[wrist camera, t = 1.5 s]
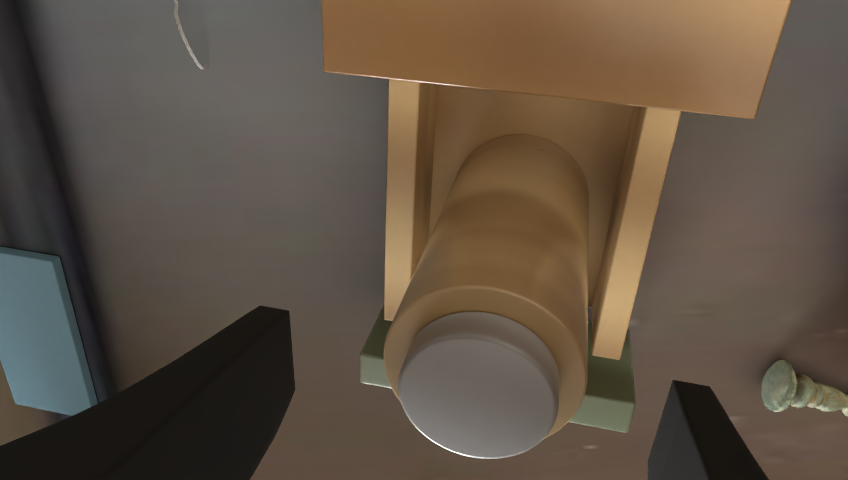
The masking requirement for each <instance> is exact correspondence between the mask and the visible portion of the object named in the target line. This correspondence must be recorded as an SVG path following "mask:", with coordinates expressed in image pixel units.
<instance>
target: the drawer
mask: <svg viewBox="0 0 848 480" xmlns="http://www.w3.org/2000/svg"><path fill="white" fill-rule="evenodd" d="M680 115H681V111H676V110H667V109H658V108H649V107H640V106H631V105H621V104H612V103H603V102H594V101H585V100H576V99H567V98H558V97H549V96H540V95H530V94H521V93H512V92H503V91H494V90H485V89H476V88H467V87H458V86H448V85H439V84H430V83H421V82H412V81H403V80H394V79H389V104H388V151H387V198H386V244H385V291H384V305H383V308H382V310H381V312H380V314H379V316H378V318H377V320H376V322H375V324H374V326H373V328H372V331H371V333H370V335H369V337H368V339H367V341H366V343H365V345H364V347H363V349H362V351H361V353H360V382H362V383H366V384H371V385H377V386H382V387H387V388H391V386H390V384H389V381H388V378H387V375H386V371H385V366H384V355H383V353H384V343H385V340H386V336H387V333H388V331H389V328H390V326H391V324H392V321H393V319H394V317H395V315H396V312H397V310H398V308H399V306H400V303H401V301H402V299H403V297H404V294H405V292H406V290H407V288H408V285H409V283H410V281H411V278H412V276H413V274H414V272H415V269H416V267H417V265H418V263H419V260H420V258H421V256H422V254H423V251H424V249H425V247H426V245H427V242H428V240H429V238H430V235H431V233H432V231H433V229H434V226H435V224H436V222H437V220H438V217H439V215H440V213H441V211H442V208H443V206H444V204H445V202H446V199H447V197H448V195H449V192H450V190H451V188H452V186H453V183H454V181H455V179H456V177H457V174H458V172H459V170H460V168H461V166H462V165H463V163H464V161H465V160H466V159H467V158H468V156H469V155H470V154H471V153H472V152H473V151H475V150H476V149H477V148H478V147H480V146H481V145H483V144H484V143H486V142H489V141H491V140H493V139H496V138H499V137H503V136H508V135H531V136H536V137H540V138H543V139H546V140H548V141H551V142H553V143H555V144H556V145H558V146H560V147H561V148H563V149H564V150H565V151H566V152H568V153H569V154H570V155H571V156H572V157H573V159H574V160H575V161H576V162H577V164H578V165H579V166H580V168H581V170H582V172H583V174H584V176H585V179H586V182H587V187H588V196H589V221H588V306H592V323H591V322H588V380H587V388H586V392H585V395H584V399H583V401H582V403H581V405H580V407H579V409H578V411H577V412H576V413H575V415H574V416H573V417H572V419H571V420H570V421H569V422H572V423H578V424H583V425H588V426H593V427H599V428H604V429H609V430H615V431H620V432H625V433H626V432H628V430H629V427H630V423H631V420H632V416H633V412H634V409H635V405H636V403H635V391H634V380H633V368H632V356H631V344H630V333H629V329H628V325H629V321H630V317H631V313H632V309H633V305H634V301H635V297H636V293H637V289H638V285H639V281H640V277H641V273H642V269H643V265H644V261H645V257H646V253H647V249H648V245H649V241H650V237H651V233H652V228H653V224H654V220H655V216H656V212H657V208H658V204H659V200H660V196H661V192H662V188H663V184H664V180H665V176H666V172H667V168H668V164H669V160H670V156H671V152H672V148H673V144H674V140H675V136H676V132H677V127H678V123H679V119H680Z"/></svg>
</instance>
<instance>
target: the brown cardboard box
mask: <svg viewBox="0 0 848 480" xmlns="http://www.w3.org/2000/svg"><path fill="white" fill-rule="evenodd" d="M790 4H791V0H322V24H323V60H324V71H325V72H330V73H339V74H348V75H357V76H367V77H376V78H385V79H394V80H403V81H412V82H421V83H430V84H439V85H448V86H458V87H467V88H476V89H485V90H494V91H503V92H512V93H521V94H530V95H540V96H549V97H558V98H567V99H576V100H585V101H594V102H603V103H612V104H621V105H631V106H640V107H649V108H658V109H667V110H676V111H685V112H694V113H703V114H713V115H722V116H731V117H740V118H749V119H754V118H755V117H756V115H757V111H758V108H759V105H760V102H761V98H762V95H763V92H764V89H765V85H766V82H767V79H768V75H769V72H770V69H771V66H772V62H773V59H774V56H775V53H776V49H777V46H778V43H779V40H780V36H781V33H782V30H783V26H784V23H785V20H786V17H787V13H788V10H789V7H790Z"/></svg>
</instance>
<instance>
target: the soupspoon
mask: <svg viewBox="0 0 848 480" xmlns="http://www.w3.org/2000/svg"><path fill="white" fill-rule="evenodd" d="M761 395H762V399H763V402H764V405H765V406H767V408H768V409H770V410H771V411H774V412H780V411H782V410H784V409H786V408H787V407H788V406H789V405H791V406H793V407H797V408H801V407H803V406H806V405H807V406H808V407H811V408H817V409H820V410H822V411H836V410H842V412H843V413H844V414H845V415H846V416H848V393H847V394H844V393H843V392H842V391H840V390H838V389H837V388H835V387H834V386H832V385H829V384H821V383H819V382H818V381H815V380H814V381H812V380H811V379H810V378H809V377H808V376H806V375H804V374H802V373H799V374H795V372H794V370H793V368H792V366H791V364H790V363H789V362H787V361H786V360H778V361H776V362H775V363H774V364H773V365H772V366H771V367H770V368H769V369H768V370H767V372H766V374H765V376H764V377H763V380H762V387H761Z"/></svg>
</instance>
